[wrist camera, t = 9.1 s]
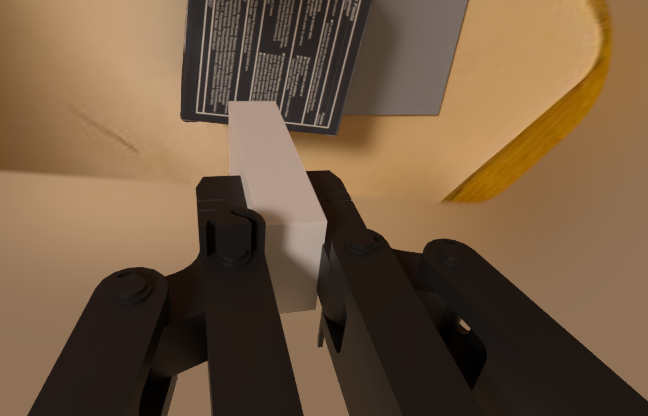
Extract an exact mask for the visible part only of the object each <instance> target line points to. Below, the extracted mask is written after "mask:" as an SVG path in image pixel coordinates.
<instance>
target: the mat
mask: <svg viewBox="0 0 648 416" xmlns="http://www.w3.org/2000/svg"><path fill="white" fill-rule="evenodd" d="M467 1H468V0H374V1H373V5H372V8H371V12H370V16H369V19H368V23H367V27H366V30H365V34H364V38H363V42H362V45H361V49H360V52H359V56H358V60H357V64H356V67H355V71H354V75H353V78H352V82H351V86H350V89H349V93H348V97H347V101H346V104H345V108H344V112H343V115H438V113H439V109H440V105H441V102H442V98H443V94H444V90H445V86H446V82H447V78H448V75H449V71H450V67H451V63H452V59H453V55H454V51H455V48H456V44H457V40H458V36H459V32H460V28H461V24H462V21H463V17H464V13H465V9H466V5H467Z"/></svg>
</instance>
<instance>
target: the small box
mask: <svg viewBox="0 0 648 416" xmlns="http://www.w3.org/2000/svg"><path fill="white" fill-rule="evenodd" d="M373 1H374V0H187V8H186V22H185V38H184V51H183V65H182V80H181V114H180V116H181V119H182V120H183V121H185V122H198V121H201V122H210V123H220V124H229V112H228V101H275V102H276V104H277V106H278V109H279V111H280V113H281V116H282V118H283V120H284V122H285V125H286V127H287V129H288V131H296V132H307V133H316V134H322V135H327V136H334V137H335V136H337V134H338V130H339V127H340V123H341V119H342V115H343V112H344V108H345V104H346V101H347V97H348V93H349V89H350V86H351V82H352V78H353V75H354V71H355V67H356V64H357V60H358V56H359V52H360V49H361V45H362V42H363V38H364V34H365V30H366V27H367V23H368V19H369V16H370V12H371V8H372V5H373Z"/></svg>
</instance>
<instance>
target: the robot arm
mask: <svg viewBox="0 0 648 416" xmlns="http://www.w3.org/2000/svg"><path fill="white" fill-rule="evenodd" d="M228 112H229V176H213V177H203V178H202V179H201V181H200V182H199V184H198V185H197V187H196V196H197V213H198V228H199V243H200V252H199V255H198V257H197V259H196V260H195V261H194V262H193V263H192V264H191V265H190V266H188V267H186V268H185V269H184V270H181V271H179V272H176V273H174V274H171V275H168V276H165V277H164V276H163V275H162V274H160V273H159V272H157V271H156V270H154V269H149V268H144V267H136V268H127V269H123V270H120V271H117V272H114V273H113V274H111V275H109V276H108V277H106V278H105V279H103V280H102V281H101V283H100V284H99V285H98V286H97V287H96V289H95V290H94V292H93V294H92V296H91V298H90V300H89V302H88V304H87V305H86V307H85V309H84V311H83V313H82V315H81V317H80V318H79V320H78V322H77V324H76V326H75V328H74V329H73V331H72V333H71V335H70V337H69V339H68V341H67V343H66V344H65V347H64V348H63V350H62V352H61V354H60V356H59V357H58V359H57V361H56V363H55V365H54V367H53V369H52V371H51V372H50V374H49V376H48V378H47V380H46V382H45V384H44V386H43V387H42V389H41V391H40V393H39V395H38V397H37V399H36V400H35V402H34V404H33V406H32V408H31V410H30V412H29V414H28V415H27V416H167V414H168V410H169V407H170V403H171V399H172V396H173V392H174V389H175V385H176V381H177V375H178V374H179V373H181V372H183V371H185V370H188V369H190V368H192V367H194V366H197V365H199V364H201V363H203V362H206V361H208V372H209V373H208V374H209V387H210V401H211V414H212V416H304V415H303V411H302V407H301V402H300V399H299V394H298V390H297V386H296V382H295V378H294V373H293V369H292V365H291V361H290V357H289V353H288V349H287V344H286V340H285V336H284V332H283V328H282V323H281V319H280V315H279V314H283V313H291V312H299V311H307V310H315V309H316V301H317V294H318V296H319V300H320V302H321V305H322V313H321V320H320V327H319V334H318V347H322V346H323V340H324V337H325V340H326V343H327V347H328V350H329V353H330V356H331V359H332V362H333V365H334V368H335V372H336V375H337V378H338V381H339V384H340V388H341V391H342V394H343V397H344V400H345V403H346V406H347V410H348V413H349V416H648V401H647V400H646V399H644V398H643V397H642V396H641V395H640V394H639V393H638V392H636V391H635V390H634V389H633V388H632V387H631V386H630V385H628V384H627V383H626V382H625V381H624V380H622V379H621V378H620V377H619V376H618V375H617V374H616V373H615V372H613V371H612V370H611V369H610V368H609V367H608V366H607V365H605V364H604V363H603V362H602V361H601V360H600V359H598V358H597V357H596V356H595V355H594V354H593V353H592V352H591V351H589V350H588V349H587V348H586V347H585V346H584V345H582V344H581V343H580V342H579V341H578V340H577V339H575V338H574V337H573V336H572V335H571V334H570V333H569V332H567V331H566V330H565V329H564V328H563V327H562V326H560V325H559V324H558V323H557V322H556V321H555V320H554V319H552V318H551V317H550V316H549V315H548V314H547V313H546V312H544V311H543V310H542V309H541V308H540V307H539V306H538V305H537V304H535V303H534V302H533V301H532V300H531V299H529V297H527V296H526V295H525V294H524V293H523V292H522V291H520V290H519V289H518V288H517V287H516V286H515V285H514V284H512V283H511V282H510V281H509V280H508V279H507V278H506V277H504V276H503V275H502V274H501V273H500V272H499V271H497V270H496V269H495V268H494V267H493V266H492V265H491V264H489V263H488V262H487V261H486V260H485V259H484V258H482V257H481V256H480V255H479V254H478V253H477V252H476V251H475V250H473V249H472V248H470V247H469V246H467V245H466V244H464V243H461V242H458V241H455V240H450V239H436V240H433V241H431V242H429V243H427V245H426V246H425V248H424V250H423V254H421V253H414V252H407V251H401V250H396V249H392V248H391V247H390V245H389V244H388V242H387V241H386V240H385V239H384V237H383V236H382V235H380V234H378V233H377V232H375V231H373V230H370V229H367V228H366V226H365V224H364V222H363V220H362V218H361V217H360V215H359V213H358V211H357V209H356V207H355V205H354V203H353V202H352V201H351V198H350V196H349V194H348V192H347V190H346V188H345V186H344V184H343V183H342V181H341V179H340V178H338V177H337V176H336V175H334V174H333V173H332V172H330V171H329V170H326V171H305V169H304V166H303V164H302V162H301V159H300V157H299V155H298V153H297V150H296V148H295V146H294V143H293V141H292V139H291V136H290V134H289V132H288V129H287V127H286V125H285V122H284V120H283V118H282V116H281V113H280V111H279V109H278V106H277V104H276V102H275V101H228ZM461 319H462V320H463V321H464V322H465V323H466V324H467V325H468V326H469V327H470V328H471V329H470V331H468V330H466V329H465V328H464V327H462V326H461V324H460V321H461Z"/></svg>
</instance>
